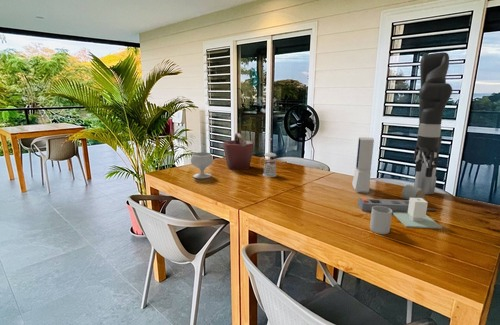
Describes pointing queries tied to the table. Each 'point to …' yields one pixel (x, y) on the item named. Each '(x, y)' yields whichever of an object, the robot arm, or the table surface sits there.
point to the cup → (380, 219)
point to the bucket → (238, 153)
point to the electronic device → (363, 165)
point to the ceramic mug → (412, 192)
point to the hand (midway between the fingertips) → (422, 174)
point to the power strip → (385, 204)
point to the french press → (267, 170)
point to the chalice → (201, 163)
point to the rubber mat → (408, 222)
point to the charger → (417, 209)
